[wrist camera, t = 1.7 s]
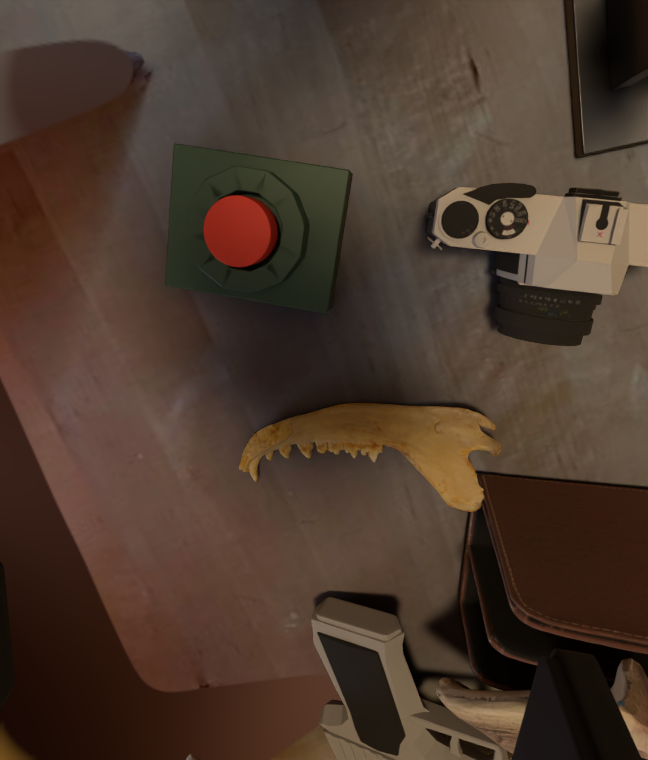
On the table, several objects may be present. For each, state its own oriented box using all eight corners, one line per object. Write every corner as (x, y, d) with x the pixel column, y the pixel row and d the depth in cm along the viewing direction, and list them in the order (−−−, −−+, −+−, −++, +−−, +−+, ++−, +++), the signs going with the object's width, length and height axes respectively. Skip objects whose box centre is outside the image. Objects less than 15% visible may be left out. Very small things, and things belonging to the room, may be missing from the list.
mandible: (494, 518, 33) (498, 506, 30) (243, 480, 37) (225, 466, 34) (501, 429, 35) (504, 410, 32) (263, 404, 39) (248, 385, 37)
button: (211, 259, 30) (200, 261, 28) (216, 191, 29) (206, 190, 27) (273, 269, 30) (266, 272, 28) (281, 202, 29) (274, 201, 27)
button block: (178, 281, 34) (151, 289, 31) (188, 148, 32) (159, 138, 28) (331, 308, 34) (323, 319, 30) (352, 173, 31) (347, 166, 27)
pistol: (746, 752, 26) (710, 945, 30) (736, 705, 28) (703, 891, 32) (298, 613, 37) (319, 767, 42) (317, 588, 40) (335, 736, 44)
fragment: (410, 634, 34) (384, 720, 31) (638, 612, 21) (631, 755, 18) (568, 736, 35) (558, 827, 32) (868, 772, 23) (896, 928, 20)
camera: (407, 319, 33) (426, 357, 25) (420, 185, 31) (447, 177, 22) (620, 332, 33) (714, 375, 24) (650, 197, 31) (766, 193, 22)
